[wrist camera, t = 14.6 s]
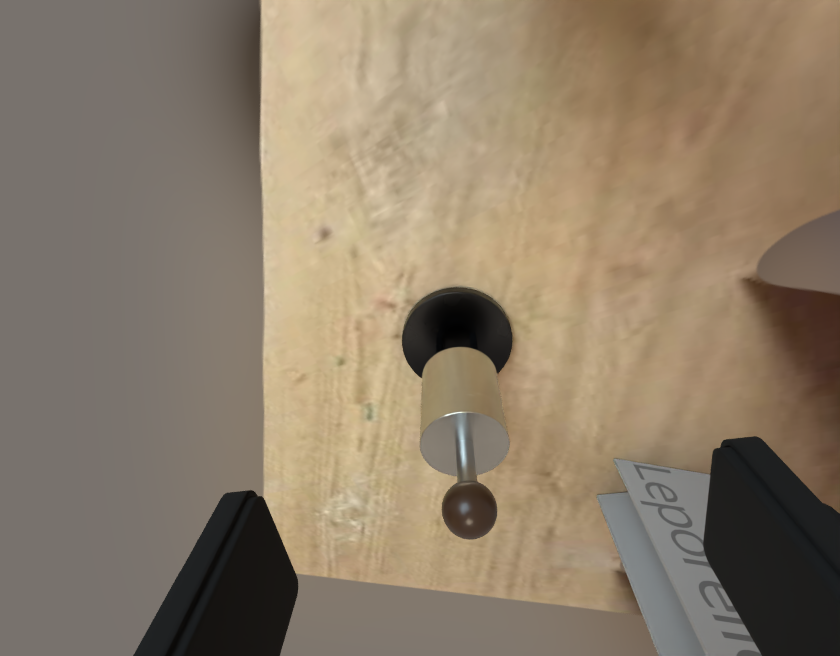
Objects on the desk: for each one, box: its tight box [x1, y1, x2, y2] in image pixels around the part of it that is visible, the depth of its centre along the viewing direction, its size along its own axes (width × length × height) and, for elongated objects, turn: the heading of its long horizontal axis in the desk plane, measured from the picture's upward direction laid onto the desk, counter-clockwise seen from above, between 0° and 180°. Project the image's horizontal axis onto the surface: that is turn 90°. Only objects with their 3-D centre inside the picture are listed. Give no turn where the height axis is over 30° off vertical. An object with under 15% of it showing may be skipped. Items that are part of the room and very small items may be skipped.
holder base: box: [402, 287, 512, 378], centre depth 42 cm, size 10×10×5 cm
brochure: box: [597, 458, 762, 656], centre depth 38 cm, size 14×6×30 cm, turn 80°
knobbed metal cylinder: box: [420, 347, 510, 539], centre depth 33 cm, size 17×6×6 cm
